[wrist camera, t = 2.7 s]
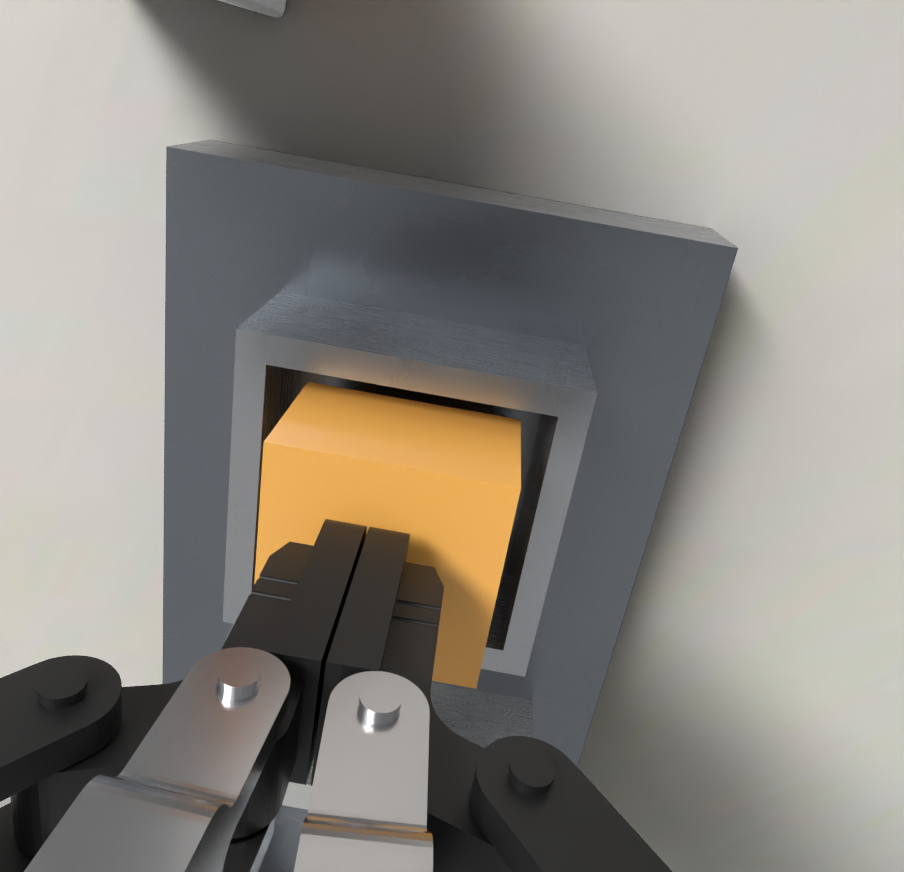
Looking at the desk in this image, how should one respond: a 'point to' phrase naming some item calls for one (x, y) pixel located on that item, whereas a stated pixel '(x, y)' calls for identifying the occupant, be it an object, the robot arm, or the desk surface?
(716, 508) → the desk surface
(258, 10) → the skincare box
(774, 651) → the desk surface
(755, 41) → the desk surface
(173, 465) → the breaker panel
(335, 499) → the button
